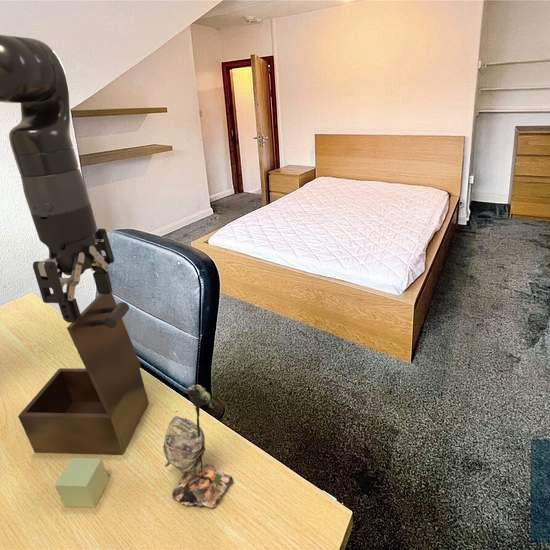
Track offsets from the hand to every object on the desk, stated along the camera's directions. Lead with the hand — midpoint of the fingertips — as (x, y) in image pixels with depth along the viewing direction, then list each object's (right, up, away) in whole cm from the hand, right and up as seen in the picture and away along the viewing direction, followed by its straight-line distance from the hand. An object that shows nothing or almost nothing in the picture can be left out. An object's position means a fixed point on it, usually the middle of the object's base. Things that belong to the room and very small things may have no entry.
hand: (90, 306), depth 63 cm
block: (-2, -30, +3) cm, 31 cm away
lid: (-1, -8, +7) cm, 11 cm away
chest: (-6, -24, +16) cm, 30 cm away
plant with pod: (+16, -29, +3) cm, 33 cm away
